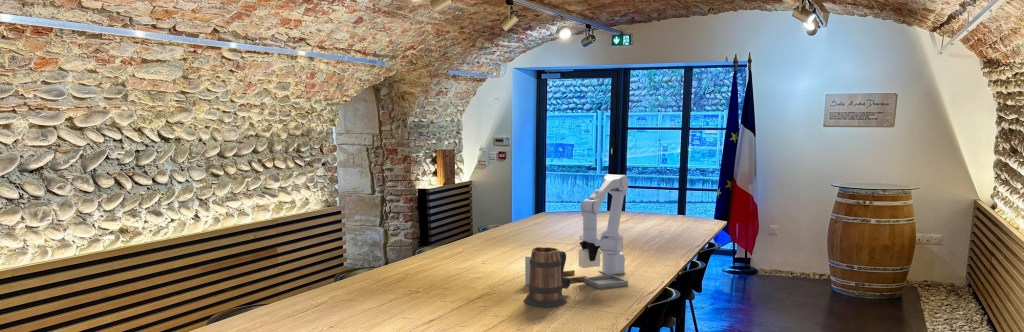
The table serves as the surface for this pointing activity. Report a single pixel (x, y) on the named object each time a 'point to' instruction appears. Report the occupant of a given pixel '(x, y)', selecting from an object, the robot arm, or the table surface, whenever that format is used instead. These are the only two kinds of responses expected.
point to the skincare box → (527, 269)
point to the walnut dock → (573, 279)
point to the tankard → (547, 278)
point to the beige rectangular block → (585, 260)
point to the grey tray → (606, 281)
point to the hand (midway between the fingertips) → (589, 259)
